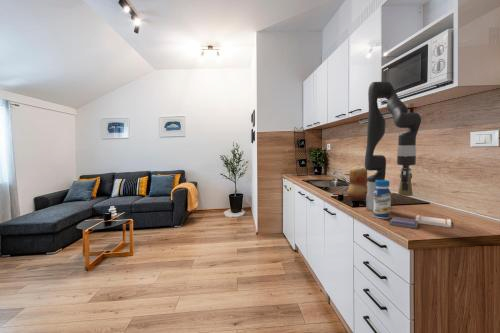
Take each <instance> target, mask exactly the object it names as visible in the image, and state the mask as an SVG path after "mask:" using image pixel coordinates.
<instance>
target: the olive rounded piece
mask: <svg viewBox="0 0 500 333" xmlns="http://www.w3.org/2000/svg"><path fill="white" fill-rule="evenodd" d="M399 178H400V180H399V186H398V196H404V197H413V187H412V178H413V174H412V173H410V178H409V179H408V182H409V183H408V191H406V190H404V191H402V182H401V180H402V178H401V172H400V174H399ZM404 180H407V179H406V178H404Z"/></svg>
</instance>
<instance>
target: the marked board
mask: <svg viewBox="0 0 500 333" xmlns="http://www.w3.org/2000/svg"><path fill="white" fill-rule="evenodd" d="M414 219H416V221H418V224H421V225H423V224H424V225H429V226H437V227H445V228H450V229H451V228H452V221H451V219H450V218H441V217H435V216H433V217H432V216H427V215H426V216H425V215H416V216H415V218H414Z"/></svg>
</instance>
